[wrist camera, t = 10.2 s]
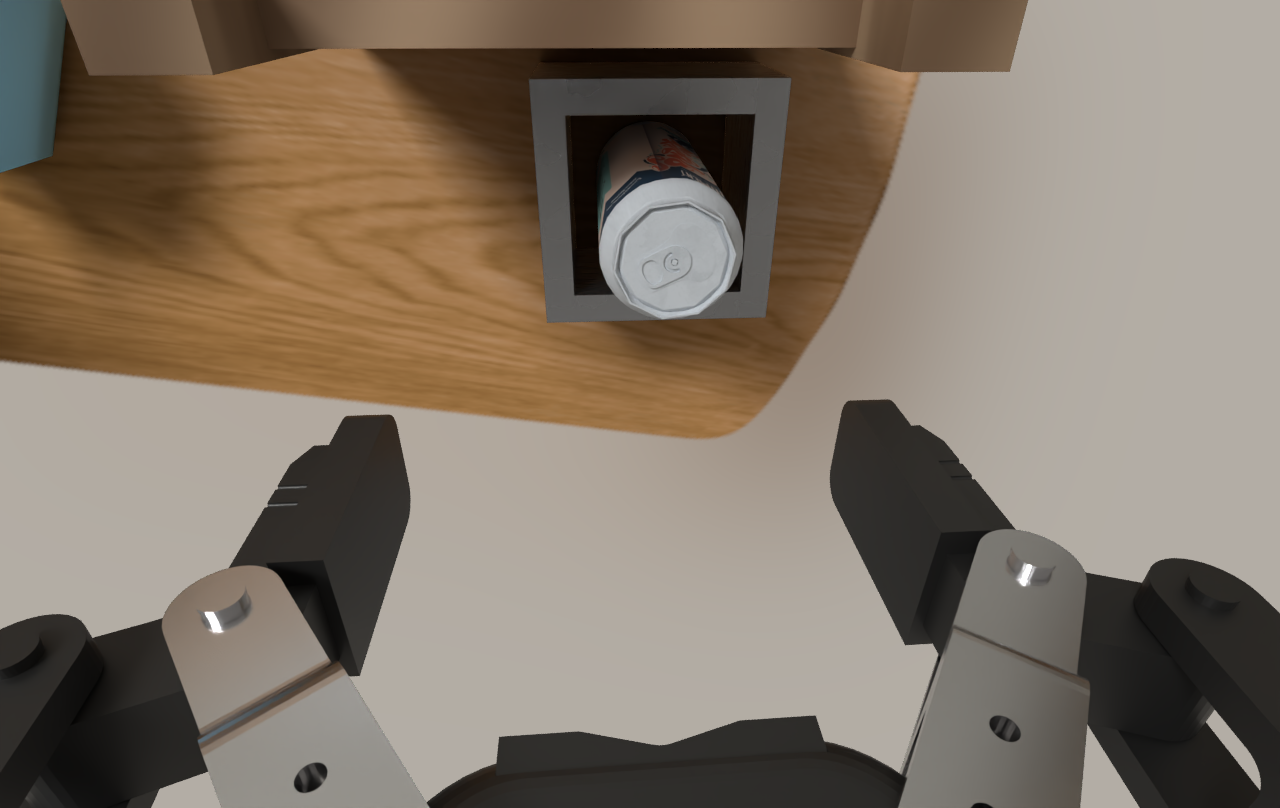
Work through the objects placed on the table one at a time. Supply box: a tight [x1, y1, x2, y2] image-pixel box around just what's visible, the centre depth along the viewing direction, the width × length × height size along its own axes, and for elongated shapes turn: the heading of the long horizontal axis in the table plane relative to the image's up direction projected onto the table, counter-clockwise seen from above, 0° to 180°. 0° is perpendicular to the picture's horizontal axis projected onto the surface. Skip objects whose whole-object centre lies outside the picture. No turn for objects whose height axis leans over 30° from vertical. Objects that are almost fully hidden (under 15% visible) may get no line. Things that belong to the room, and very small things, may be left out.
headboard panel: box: [60, 0, 1028, 75], centre depth 21 cm, size 19×2×17 cm, turn 90°
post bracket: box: [529, 62, 791, 323], centre depth 29 cm, size 9×9×6 cm
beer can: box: [596, 121, 743, 319], centre depth 27 cm, size 5×5×12 cm
